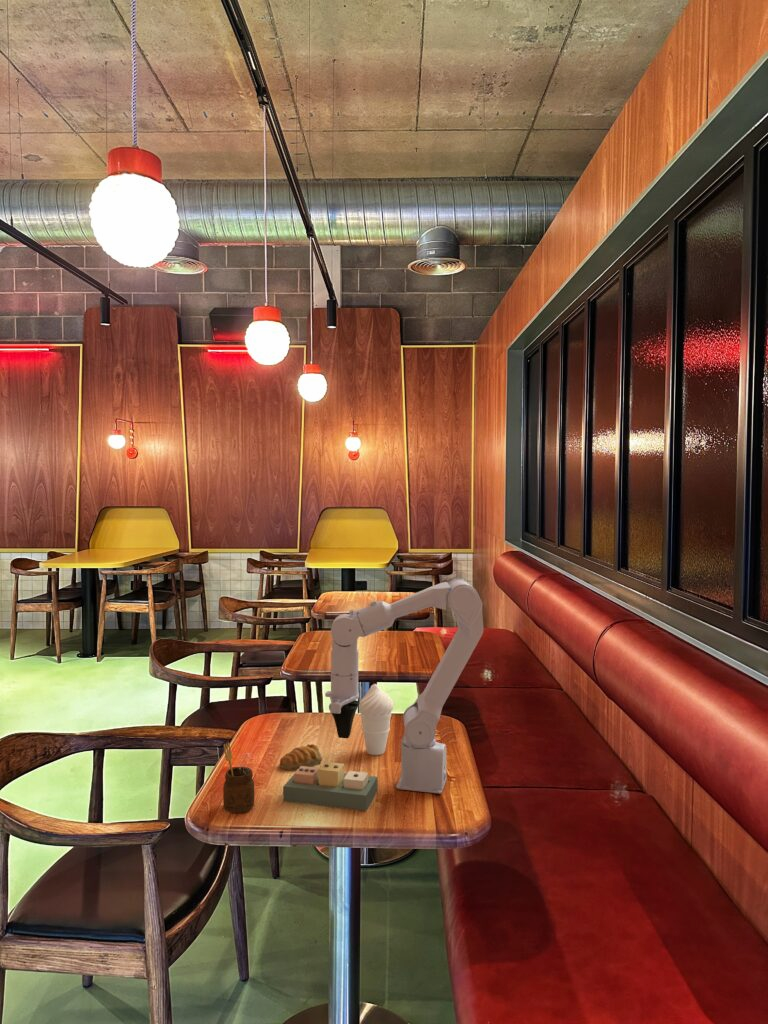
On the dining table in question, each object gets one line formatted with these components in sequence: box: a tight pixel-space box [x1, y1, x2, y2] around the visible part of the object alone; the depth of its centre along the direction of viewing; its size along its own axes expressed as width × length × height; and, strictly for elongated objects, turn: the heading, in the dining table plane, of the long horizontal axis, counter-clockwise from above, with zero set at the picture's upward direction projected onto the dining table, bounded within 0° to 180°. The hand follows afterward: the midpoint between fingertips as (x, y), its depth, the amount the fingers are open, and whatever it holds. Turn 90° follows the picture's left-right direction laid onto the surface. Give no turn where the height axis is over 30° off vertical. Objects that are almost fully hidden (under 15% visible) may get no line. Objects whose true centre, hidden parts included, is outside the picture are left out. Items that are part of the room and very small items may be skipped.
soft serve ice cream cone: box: [358, 683, 395, 756], centre depth 162 cm, size 8×8×16 cm
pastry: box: [279, 743, 323, 771], centre depth 155 cm, size 9×7×4 cm
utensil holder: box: [222, 741, 255, 814], centre depth 133 cm, size 6×6×12 cm
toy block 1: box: [293, 766, 320, 785], centre depth 140 cm, size 4×4×5 cm
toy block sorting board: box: [282, 772, 379, 812], centre depth 139 cm, size 17×9×3 cm, turn 77°
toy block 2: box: [319, 761, 345, 787], centre depth 139 cm, size 4×4×5 cm
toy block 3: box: [344, 770, 369, 790], centre depth 137 cm, size 4×4×5 cm
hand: (344, 737), depth 144 cm, fingers closed
